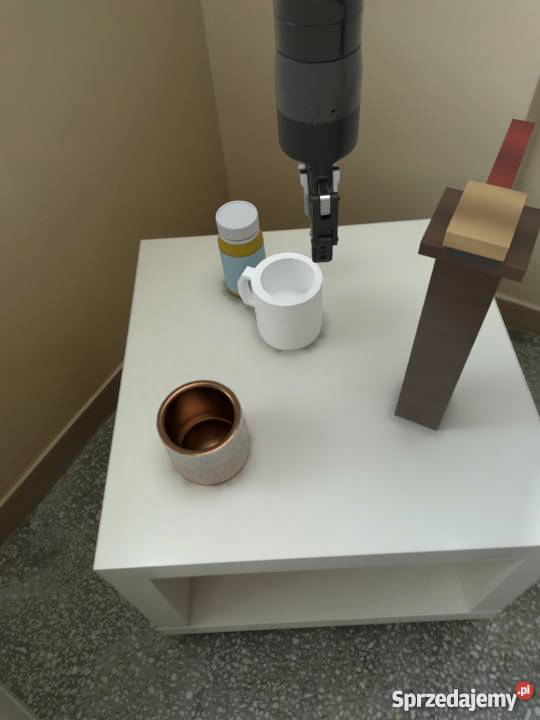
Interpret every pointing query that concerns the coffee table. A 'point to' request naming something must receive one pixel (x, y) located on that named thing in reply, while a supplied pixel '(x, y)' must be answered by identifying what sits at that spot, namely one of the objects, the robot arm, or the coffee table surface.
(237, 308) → the coffee table surface
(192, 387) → the planter
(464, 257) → the brush
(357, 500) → the coffee table surface
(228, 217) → the bottle
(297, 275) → the mug
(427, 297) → the stand
